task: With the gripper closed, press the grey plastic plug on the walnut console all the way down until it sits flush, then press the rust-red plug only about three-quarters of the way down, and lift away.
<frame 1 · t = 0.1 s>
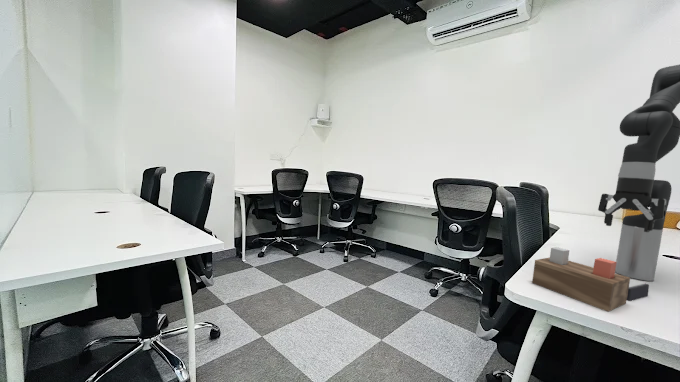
hand: (626, 228, 84), 17 cm above the table, tool pointing down, fingers open, 8 cm apart
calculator: (603, 288, 81), on the table
red plug: (603, 273, 70), point 7 cm above the table, slide at 0.0 cm
console: (575, 292, 75), on the table
grey plug: (558, 260, 79), point 8 cm above the table, slide at 0.0 cm
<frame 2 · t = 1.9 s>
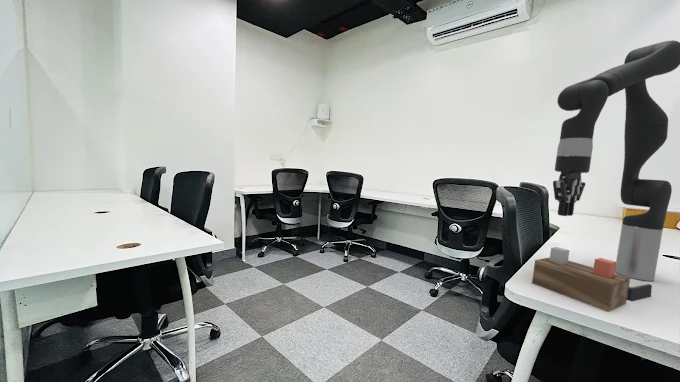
hand: (565, 215, 78), 21 cm above the table, tool pointing down, fingers closed
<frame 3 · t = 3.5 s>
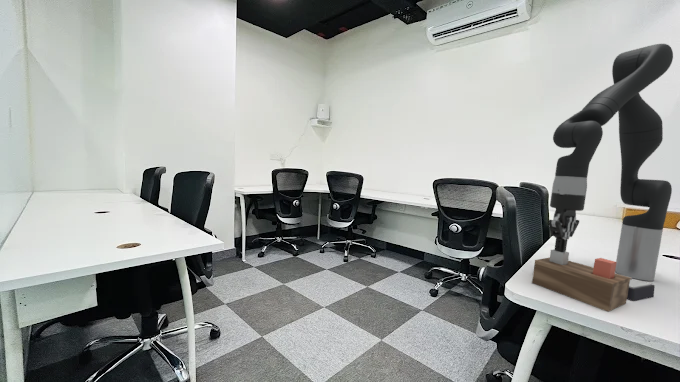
hand: (559, 251, 79), 10 cm above the table, tool pointing down, fingers closed
grey plug: (558, 262, 79), point 7 cm above the table, slide at 0.7 cm, touching gripper
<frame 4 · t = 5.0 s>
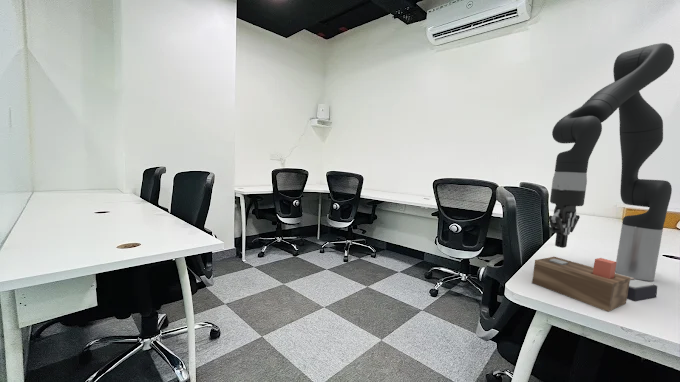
hand: (560, 246, 79), 12 cm above the table, tool pointing down, fingers closed
grey plug: (556, 272, 79), point 4 cm above the table, slide at 3.7 cm
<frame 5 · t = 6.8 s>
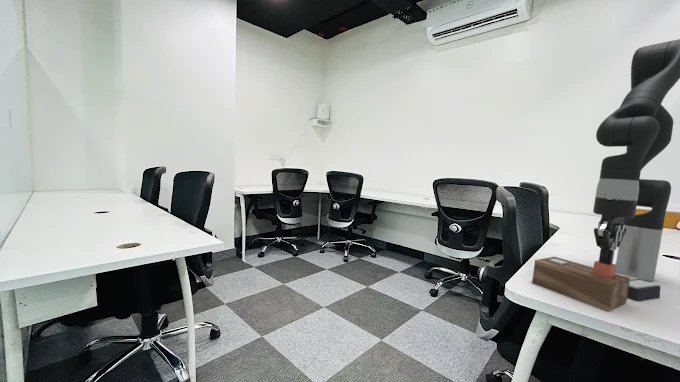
hand: (605, 263, 70), 10 cm above the table, tool pointing down, fingers closed
red plug: (603, 276, 70), point 7 cm above the table, slide at 0.7 cm, touching gripper
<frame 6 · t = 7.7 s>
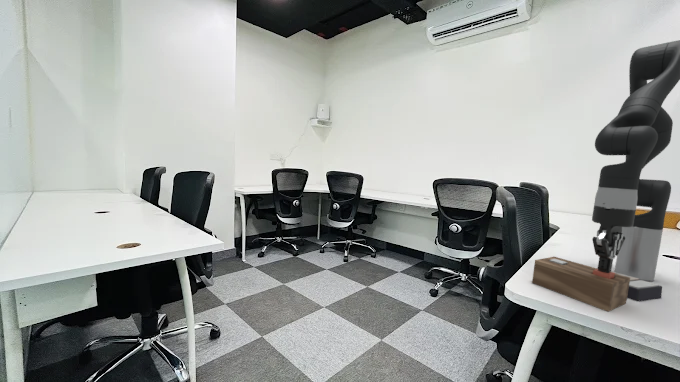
hand: (604, 271, 70), 8 cm above the table, tool pointing down, fingers closed
red plug: (601, 284, 70), point 5 cm above the table, slide at 3.0 cm, touching gripper
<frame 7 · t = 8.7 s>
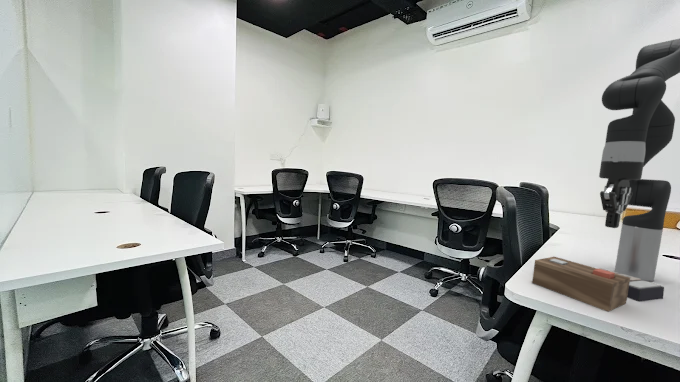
hand: (611, 227, 70), 20 cm above the table, tool pointing down, fingers closed
red plug: (601, 284, 70), point 5 cm above the table, slide at 3.0 cm
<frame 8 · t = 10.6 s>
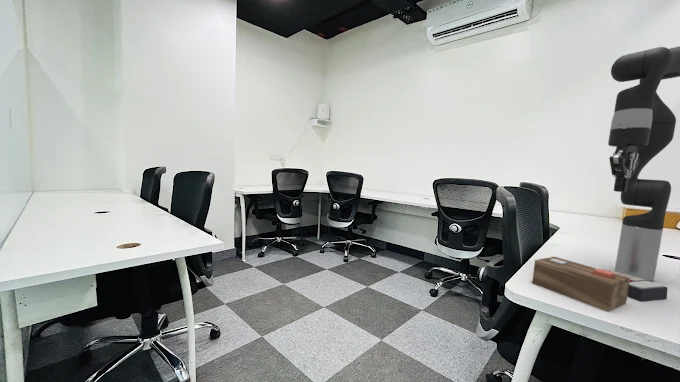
hand: (619, 191, 74), 29 cm above the table, tool pointing down, fingers closed
at the end: grey plug slide at 3.7 cm; red plug slide at 3.0 cm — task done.
